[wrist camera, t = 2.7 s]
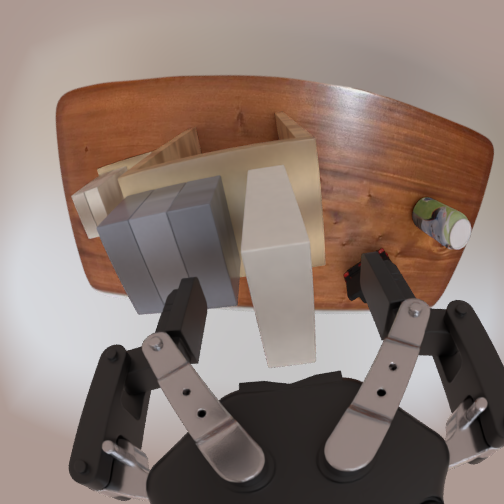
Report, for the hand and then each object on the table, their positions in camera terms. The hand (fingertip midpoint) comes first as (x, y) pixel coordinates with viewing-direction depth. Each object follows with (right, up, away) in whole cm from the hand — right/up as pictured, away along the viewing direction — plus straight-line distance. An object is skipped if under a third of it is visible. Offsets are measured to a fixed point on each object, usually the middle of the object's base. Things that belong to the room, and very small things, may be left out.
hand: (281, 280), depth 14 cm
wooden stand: (-3, +16, +27) cm, 32 cm away
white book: (0, +4, +6) cm, 8 cm away
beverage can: (+30, +9, +31) cm, 44 cm away
